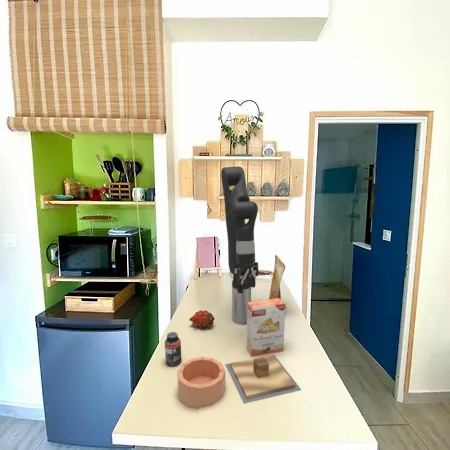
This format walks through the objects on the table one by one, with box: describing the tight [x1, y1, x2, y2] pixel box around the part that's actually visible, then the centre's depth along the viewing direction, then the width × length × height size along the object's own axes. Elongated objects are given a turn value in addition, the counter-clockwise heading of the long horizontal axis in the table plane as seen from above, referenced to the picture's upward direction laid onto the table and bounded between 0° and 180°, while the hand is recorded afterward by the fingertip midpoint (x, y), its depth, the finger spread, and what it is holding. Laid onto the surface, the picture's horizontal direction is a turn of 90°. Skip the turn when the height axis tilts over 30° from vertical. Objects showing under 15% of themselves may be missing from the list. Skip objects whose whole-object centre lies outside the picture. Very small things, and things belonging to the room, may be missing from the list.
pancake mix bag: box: [268, 254, 286, 301], centre depth 151 cm, size 7×19×28 cm, turn 176°
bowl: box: [176, 356, 226, 410], centre depth 95 cm, size 15×15×7 cm
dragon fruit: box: [188, 309, 215, 330], centre depth 137 cm, size 8×8×12 cm
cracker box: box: [246, 298, 286, 358], centre depth 115 cm, size 14×6×21 cm, turn 105°
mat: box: [225, 354, 302, 404], centre depth 101 cm, size 20×20×1 cm
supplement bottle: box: [164, 331, 182, 367], centre depth 110 cm, size 6×6×11 cm
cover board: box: [229, 354, 295, 399], centre depth 101 cm, size 17×17×6 cm
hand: (246, 290), depth 119 cm, fingers open, 8 cm apart
